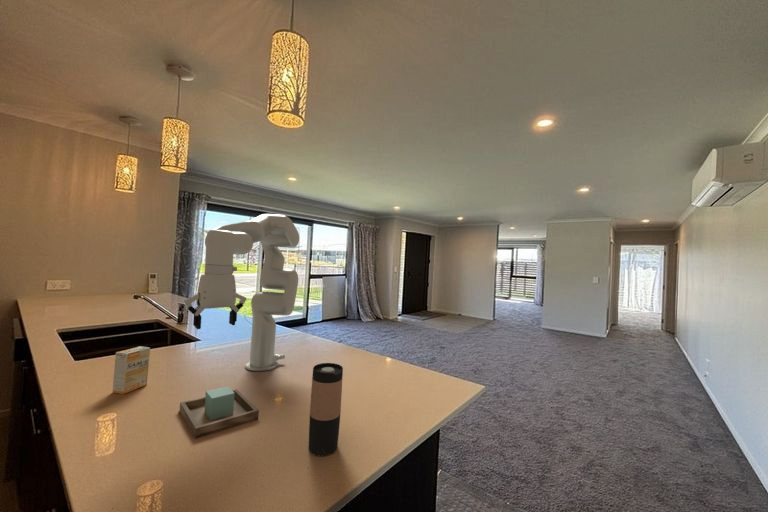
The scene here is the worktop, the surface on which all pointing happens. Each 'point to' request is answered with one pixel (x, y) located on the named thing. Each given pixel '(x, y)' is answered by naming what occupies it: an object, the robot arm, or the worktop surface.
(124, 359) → the supplement box
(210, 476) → the worktop surface
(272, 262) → the robot arm
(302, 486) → the worktop surface
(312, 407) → the travel mug
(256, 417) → the walnut tray
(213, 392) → the teal cube
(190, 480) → the worktop surface
